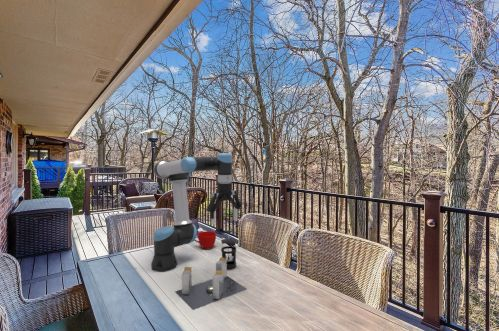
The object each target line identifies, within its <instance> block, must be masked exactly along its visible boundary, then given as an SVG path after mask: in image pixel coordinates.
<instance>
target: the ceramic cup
mask: <svg viewBox="0 0 499 331" xmlns="http://www.w3.org/2000/svg"><path fill="white" fill-rule="evenodd" d="M196 238H197V239H198V240H196V239H195V240H194V241H193V242H196V243H198V244H199V245H200V246H201V248H202V249H203V250H208V249H209V250H210V249H212V248H213V246H214V245H215V244H216V241H217V240H216V239H217V233H216V232H215V231H211V230H210V231H208V230H206V231H201V232H199V233H197V236H196Z"/></svg>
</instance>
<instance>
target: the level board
mask: <svg viewBox="0 0 499 331" xmlns="http://www.w3.org/2000/svg"><path fill="white" fill-rule="evenodd" d="M246 290H248V288H246V287H245V286H243V285H242V284H241V283H239V282H237V281H236V280H234V279H233V278H231V277H230V276H228V275H227V277H226V278H225V279H224V281H223V291H224V292H223V294H222V295H221V297H220V299H213V278H212V279H209V280H206V281H203V282H200V283H196V284H194V285H193V284H192V288H191V290H190V293H189V294H182V289H178V290H174V293H175V294H176V295H177V296H178V297H179V298H180V299H181V300H182V301H184V303H185V304H186V305H187V306H189V307H190V309H191V310H192V311H195V310H197V309H200V308H203V307H205V306H208V305H210V304H212V303H216V302H218V301H221V300H224V299H225V298H228V297H231V296H233V295H236V294H238V293H241V292H244V291H246ZM189 307H188V308H189Z"/></svg>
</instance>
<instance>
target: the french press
mask: <svg viewBox="0 0 499 331" xmlns="http://www.w3.org/2000/svg"><path fill="white" fill-rule="evenodd" d="M224 232H225V233H227V235H228V238H223V239H222V240H221V245H223V244H225V245H227V246H223V247H221V249H220V251H221V257H222V258H227V271H230V270H234V269H236V268H237V260H236V259H237V254H236V252H237V247H236V242H237V239H234V238H230V233H233V231H232V230H231V229H228V230H227V229H226V230H225V231H224ZM226 249H227V250H228V251H226ZM230 249H231V251H230Z"/></svg>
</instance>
